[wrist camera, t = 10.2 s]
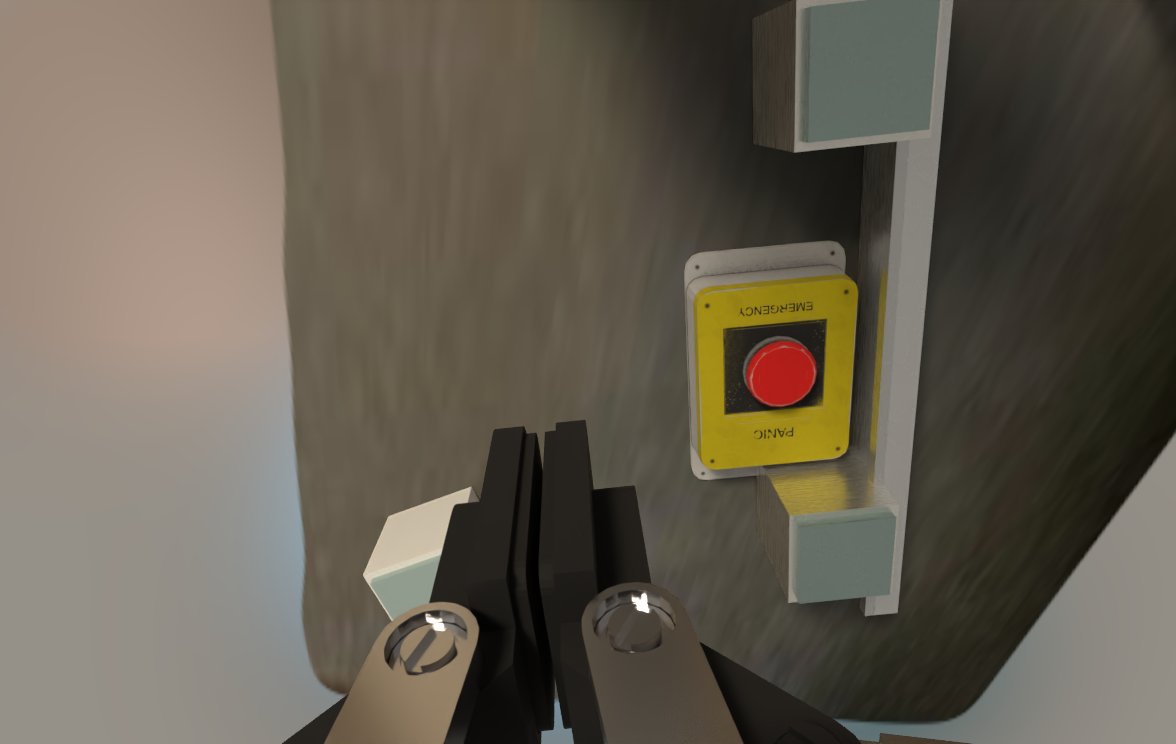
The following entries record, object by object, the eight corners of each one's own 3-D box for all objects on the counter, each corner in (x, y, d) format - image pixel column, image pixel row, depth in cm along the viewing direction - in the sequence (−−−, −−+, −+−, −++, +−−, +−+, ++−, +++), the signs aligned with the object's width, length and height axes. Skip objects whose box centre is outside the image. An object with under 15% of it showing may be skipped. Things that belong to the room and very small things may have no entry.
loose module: (388, 515, 44) (360, 581, 38) (471, 486, 43) (456, 547, 37) (422, 573, 46) (400, 643, 40) (502, 545, 45) (493, 613, 39)
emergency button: (875, 252, 34) (857, 500, 40) (842, 236, 38) (830, 463, 44) (695, 269, 34) (702, 514, 40) (681, 252, 38) (690, 476, 44)
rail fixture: (751, -63, 32) (802, -109, 25) (906, -80, 32) (1001, -132, 25) (756, 572, 46) (790, 656, 39) (864, 561, 46) (917, 644, 39)
